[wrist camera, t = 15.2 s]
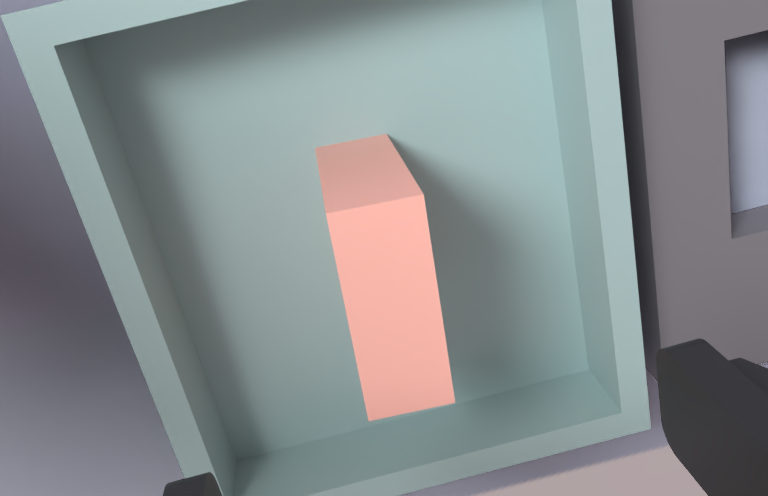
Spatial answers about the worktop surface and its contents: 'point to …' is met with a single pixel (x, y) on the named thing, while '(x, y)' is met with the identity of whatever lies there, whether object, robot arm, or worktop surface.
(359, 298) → the pink rubber eraser
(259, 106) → the tray
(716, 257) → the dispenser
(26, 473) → the worktop surface
